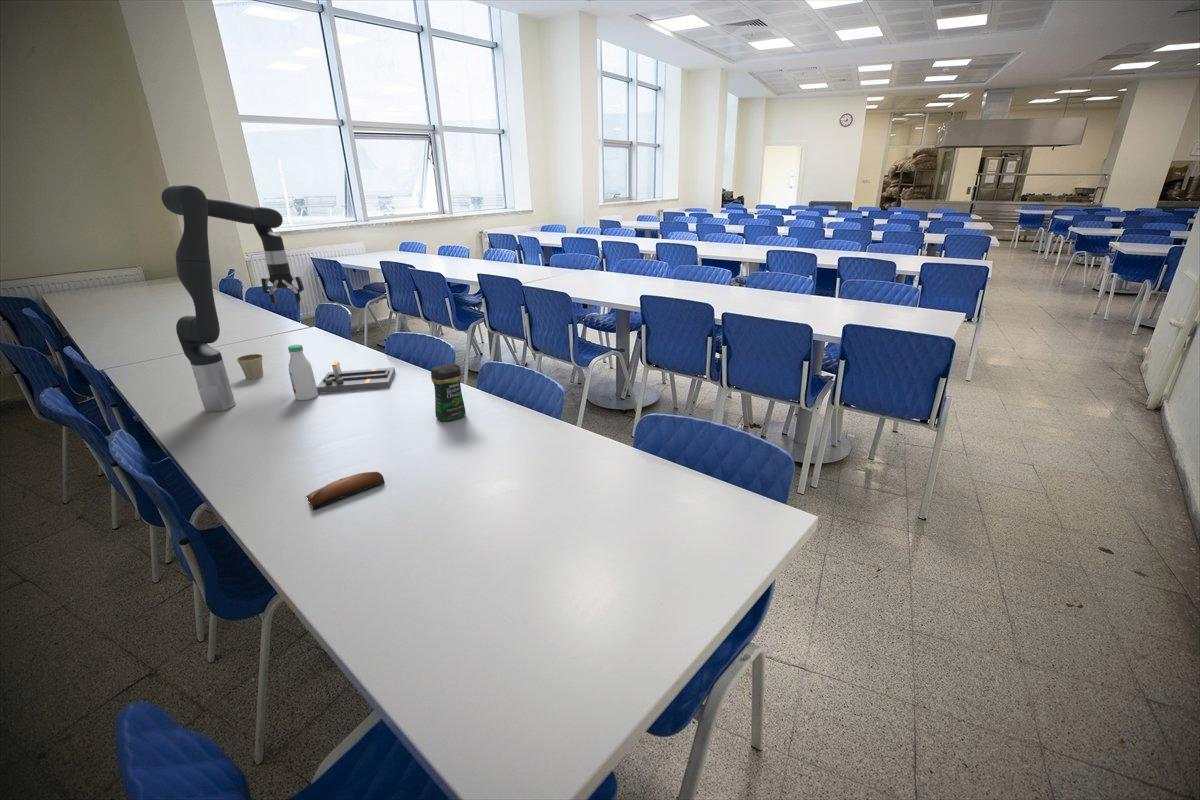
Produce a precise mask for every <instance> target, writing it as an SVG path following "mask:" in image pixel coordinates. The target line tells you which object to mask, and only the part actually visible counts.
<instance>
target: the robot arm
mask: <svg viewBox="0 0 1200 800" xmlns="http://www.w3.org/2000/svg"><path fill="white" fill-rule="evenodd" d="M160 199H161V202H162V204H163V206H164V207H165V209H167V210H168V211H169V212H171V213H172V214H175V215H179V216H182V217H183V218H182V219H183V232H182V234H181V235H182V236H181V237H180V240H179V243H178V245H177V249H176V251H175V265H176V274H177V277H178V280H179V281H180V282H181V284H182V286H183V287H184V288H185V290H186V291H187V292H188V294H189V296H190V297H191V300H192V302H193V305H194V310H195V315H184V316H182V317H180V318H178V320H177V322H176V326H175V330H176V335H177V338H178V341H179V343H180V345H181V349H182V351H183V354H184V355H185V357H186V358H187V360H188V361H189V363H190V366H191V369H192V373H193V377H194V378H195V382H196V385H197V390H198V392H199V393H198V394H199V396H200V399H201V402H202V406H203V408H204V413H210V412H211V413H213V412H215V413H216V412H223V411H226V410H228V409H232V408H233V407H234V406H236V401H235V398H234V397H235V396H234V393H233V391H232V386H231V384H230V379H229V377H228V373H227V370H226V367H225V362H224V358H223V356H222V353H221V352H220V350H218V349H215V348H213V347H212V346H210V345H209V344H213V343H215V342H217V340H218V339H219V337H220V332H221V331H220V330H221V329H220V321H219V317H218V312H217V307H216V302H215V297H214V290H213V281H212V266H211V264H212V263H211V259H210V247H209V233H208V231H209V230H208V224H209V223H208V222H209V221H208V220H209V219H208V218H209V217H211V218H217V219H220V220H221V219H223V220H227V221H230V222H236V223H241V224H246V225H253V226H254V229H255V231H256V233H257V234H258V236H259V238H260V239H261V242H262V248H263V251H264V257H265V262H266V267H267V271H268V275H269V277H264V276H263V277H262V278H261V279H260V281H261V286H262V292H263V293H264V294H268V295H269V298H270V302H271V303H272V304H274V305H276V304H277V303H278V302H277V301H278V300H277V297H276V294H275V291H276V290H278V289H288V288H289V289H290V291H293V292H294V298H295V301H296V303H300V302H301V300H302V298H301V294H300V293H301V292H303V291H305V287H304V284H303V280H302V277H301V276H300V275H296V276H293V275H292V272H291V269H290V265H289V259H288V255H287V253H286V249H285V245H284V242H283V241H284V240H283V238H282V236H281V235H279V234H277V233H275V232H274V231H273V229H276V228H279V227H281V226H282V224H283V222H284V221H283V220H284V219H283V216H282V214H281V213H280V212H279V211H278V210H276V209H274V208H270V207H264V206H256V205H251V204H248V203H244V202H239V201H235V200H229V199H228V200H227V199H221V198H219V199H218V198H212V197H211V198H210V197H207V196H206V194H205V192H204V191H203V190H202V189H201V188H200V187H198V186H197V185H193V184H182V185H179V184H178V185H171V186H168V187H166V188H164V189H163V190H162V193H161V198H160ZM293 281H294V282H295V283H296V284H297V286H296V285H295V284H294V283H293ZM269 283H271V284H272V286H271V287H270V289H269V286H268V285H269Z"/></svg>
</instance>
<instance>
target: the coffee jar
mask: <svg viewBox="0 0 1200 800" xmlns="http://www.w3.org/2000/svg"><path fill="white" fill-rule="evenodd" d="M462 376H463V375H462V371H461V367H460V365H459V364H458V363H455V362H452V363H447V364H442V365H438V366H433V367H431V369H430V378H431V382H432V384H433V387H434V397H435V398H434V400H435V401H434V405H435V406H434V407H435V409H434V410H435V411H434V413H435V417H436V419H437V420H439V421H441V422H451V421H455V420H458V419H460V418H463V417H465V416H466V414H467V413H466V406H465V401H464V398H463V394H462V387H461V380H462Z"/></svg>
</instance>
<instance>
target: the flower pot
mask: <svg viewBox="0 0 1200 800" xmlns="http://www.w3.org/2000/svg"><path fill="white" fill-rule="evenodd" d="M263 356H264V355H263V354H262V353H259V354H258V353H252V354H245V355H241V356H238V357H237V358H235V360H236V362H237V363H238V365H239V366H240V367H241V370H242V372H243V374H244V376H245V379H246V380H253V379H255V380H256V379H260V378H263V376H264V369H263Z"/></svg>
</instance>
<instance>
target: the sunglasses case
mask: <svg viewBox="0 0 1200 800" xmlns="http://www.w3.org/2000/svg"><path fill="white" fill-rule="evenodd" d="M384 478H385V477H384V475H383V474H382V473H381V472H379V471H368V472H367V471H366V472H361V473H356V474H352V475H349V476H346V477H343V478H339V479H337V480H334V481H332V482H329V483H328V484H326V485H325V486H323V487H320V488H318V489H316V490H314V491H312V492H310V493H308V494H307V495H306V496H305V498H306V497H307V498H308V500H307V502H308V501H309V502H310V503H309V502H308V503H309V505H310V506H311V505H312V506H311V508H313V511H315V510H317V509H319V508H321V507H323V506H326V505H327V504H328V505H329V504H330V503H333V502H334V501H337V500H339V499H341V498H344V497H347V496H350V495H353V494H355V493H358V492H360V491H364V490H366V489H370V488H372V487H375V486H377V485H380V484H385V479H384Z"/></svg>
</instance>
